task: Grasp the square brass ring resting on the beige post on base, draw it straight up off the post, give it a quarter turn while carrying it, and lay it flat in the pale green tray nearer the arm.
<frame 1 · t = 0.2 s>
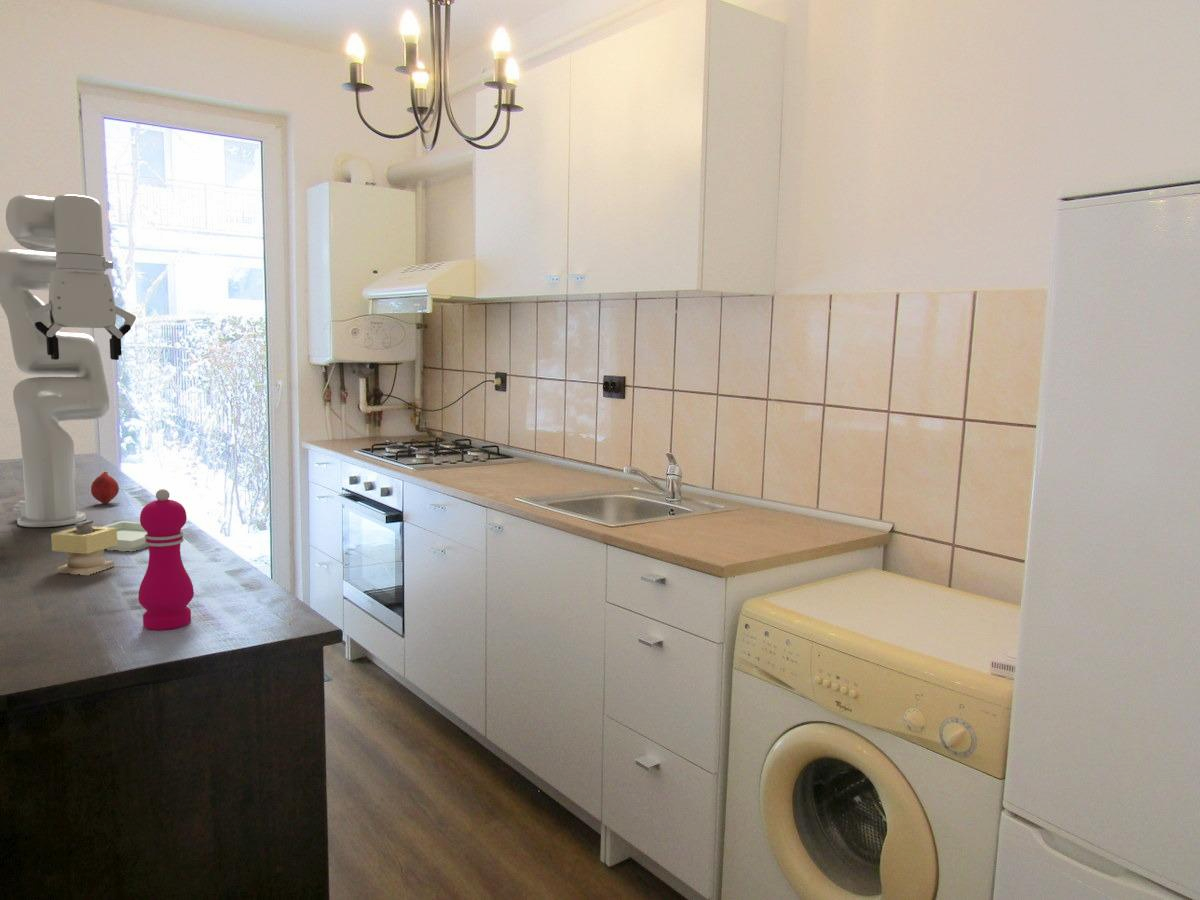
hand: (85, 359, 156), 37 cm above the countertop, tool pointing down, fingers open, 9 cm apart
ring: (85, 547, 149), point 4 cm above the countertop, touching beige post on base
onion: (105, 504, 204), on the countertop
tray: (127, 541, 170), on the countertop
beige post on base: (86, 569, 149), on the countertop
pepper mill: (167, 624, 123), on the countertop
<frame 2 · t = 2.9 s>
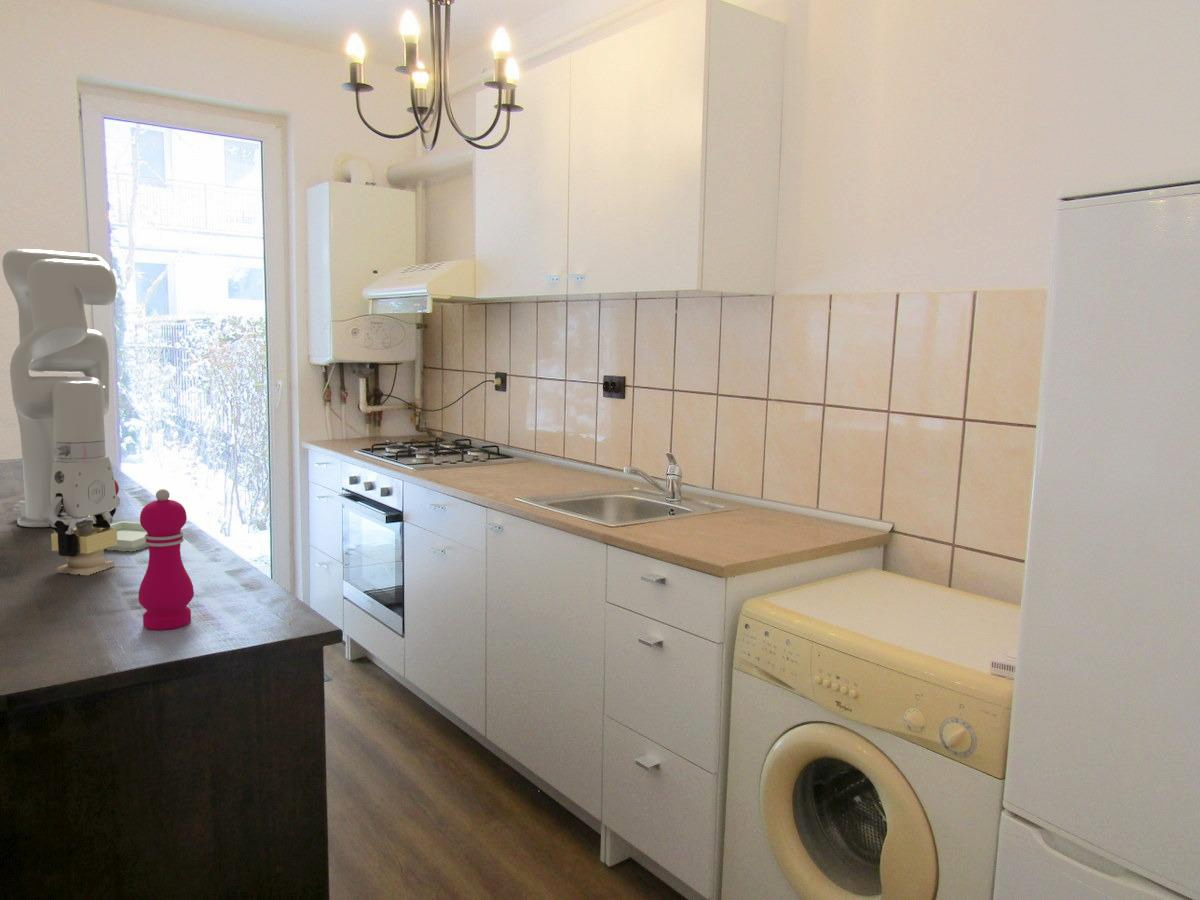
hand: (85, 549, 149), 4 cm above the countertop, tool pointing down, fingers closed on ring, 7 cm apart
ring: (85, 547, 149), point 4 cm above the countertop, touching gripper, beige post on base
everything else where it was.
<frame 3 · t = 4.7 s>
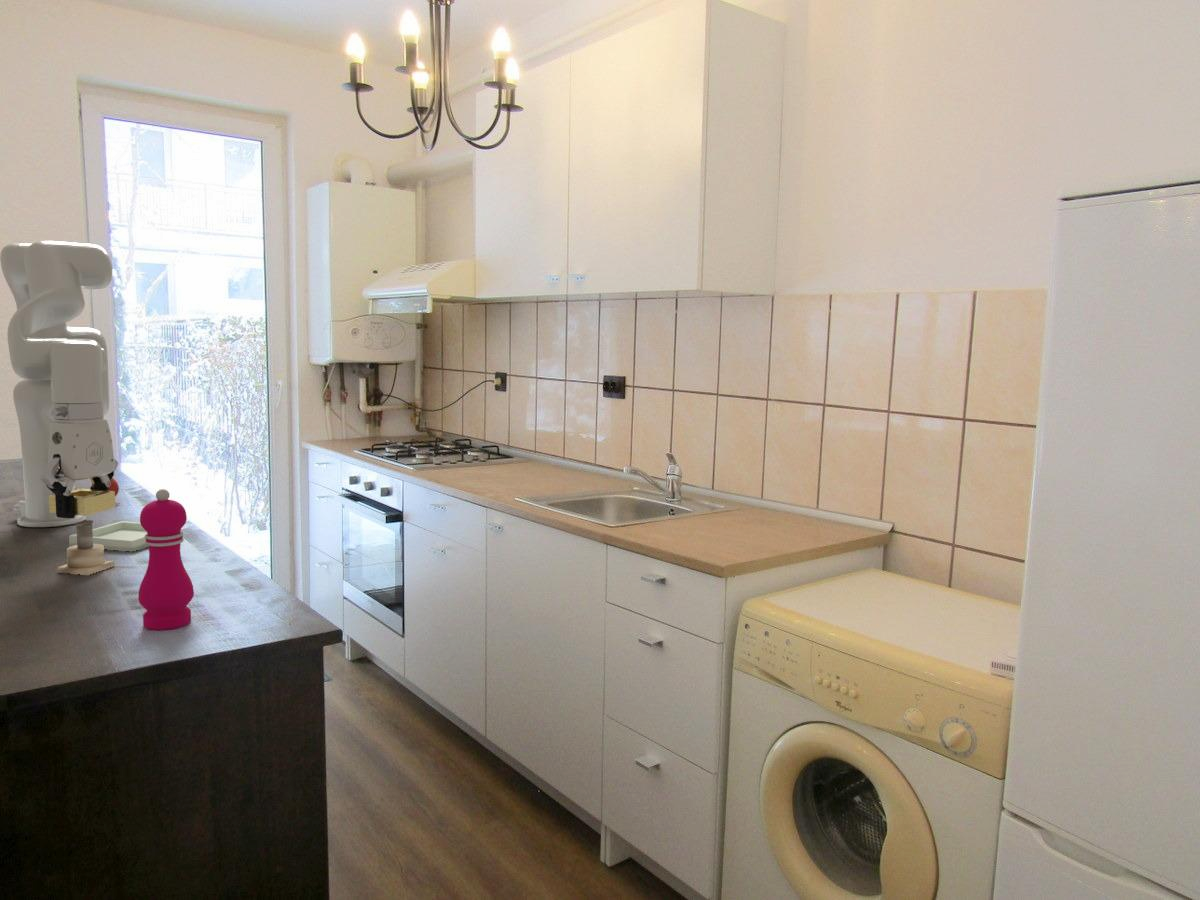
hand: (83, 512, 148), 10 cm above the countertop, tool pointing down, fingers closed on ring, 7 cm apart
ring: (83, 510, 148), point 11 cm above the countertop, touching gripper
everything else where it was.
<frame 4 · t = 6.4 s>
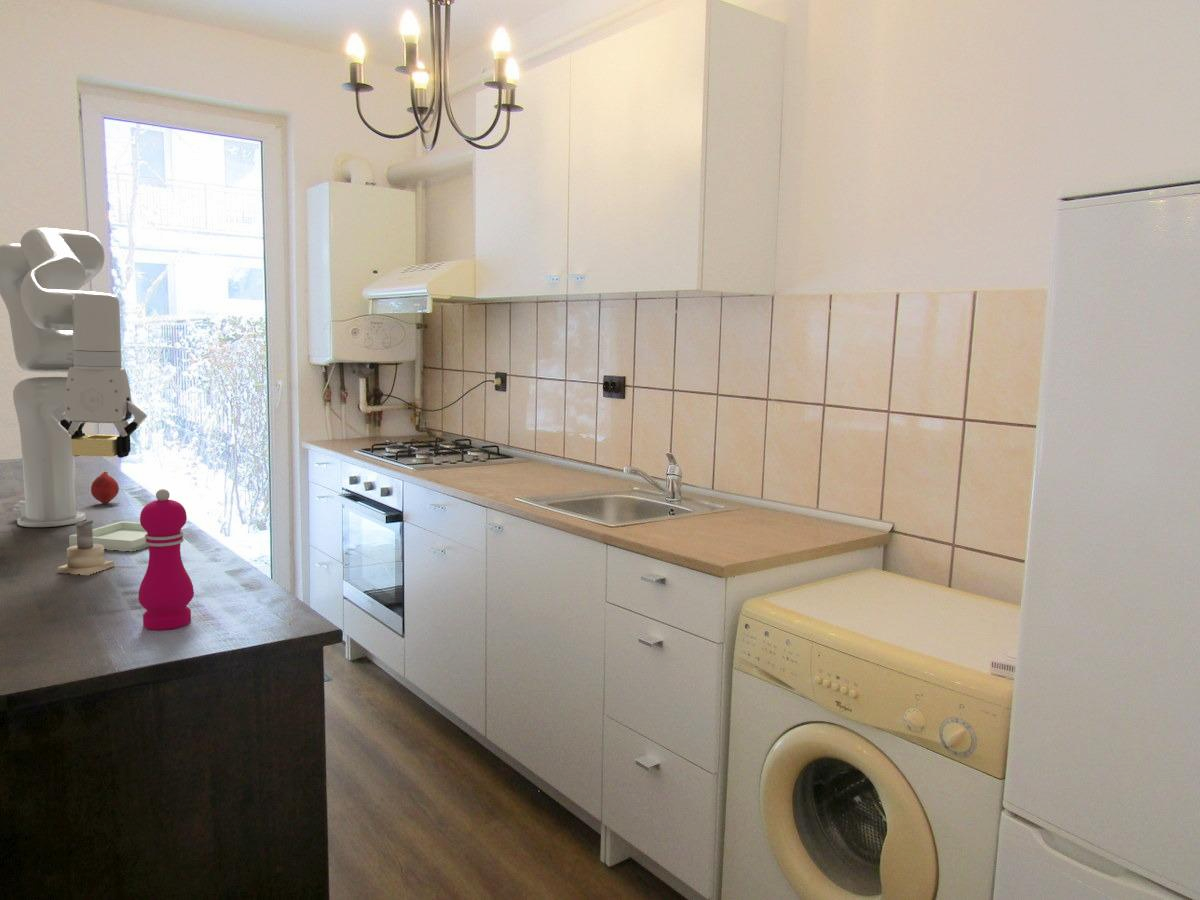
hand: (101, 455, 157), 19 cm above the countertop, tool pointing down, fingers closed on ring, 7 cm apart
ring: (101, 453, 157), point 19 cm above the countertop, touching gripper
everything else where it was.
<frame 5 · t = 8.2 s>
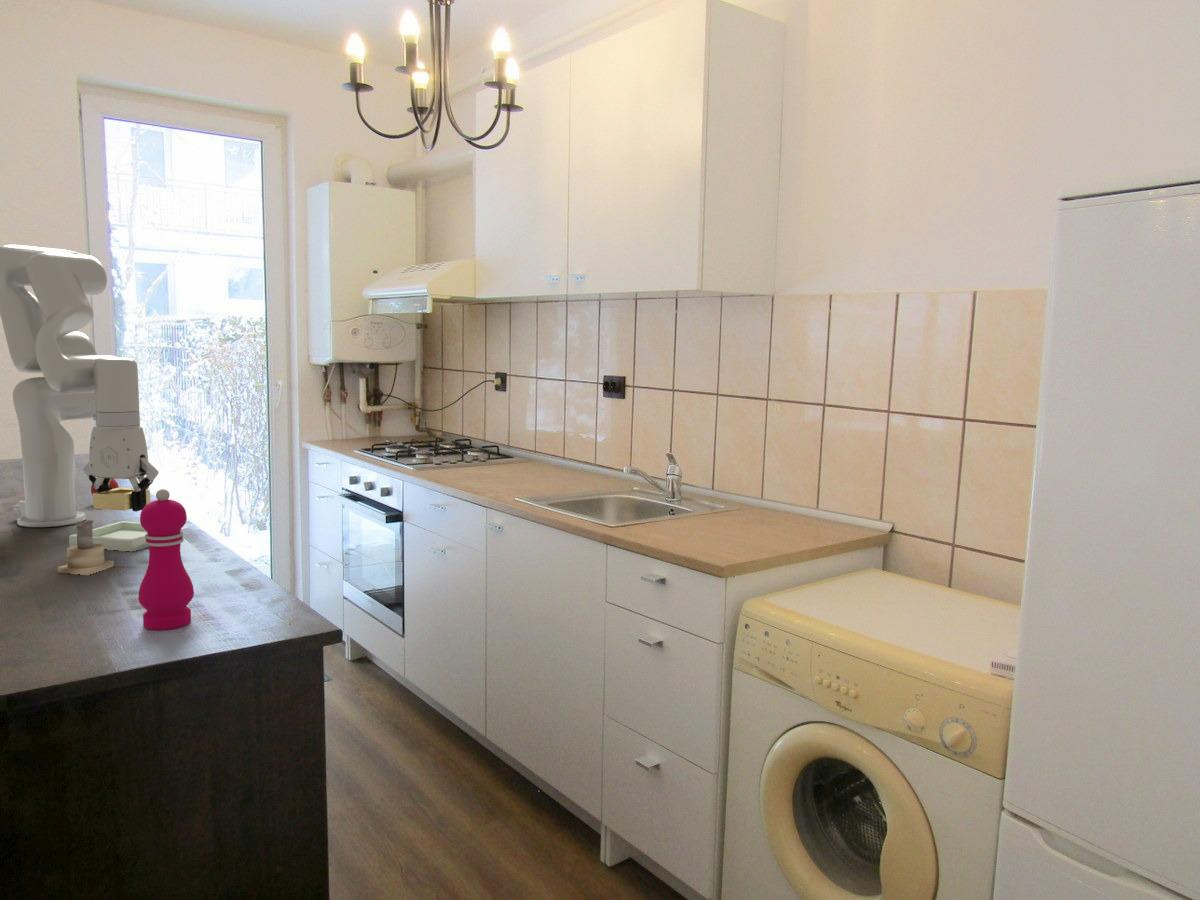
hand: (122, 508, 168), 7 cm above the countertop, tool pointing down, fingers closed on ring, 7 cm apart
ring: (122, 506, 168), point 7 cm above the countertop, touching gripper
everything else where it was.
when the fingers open (2 cm above the countertop, at t = 9.6 s): ring drops 2 cm, resting on tray.
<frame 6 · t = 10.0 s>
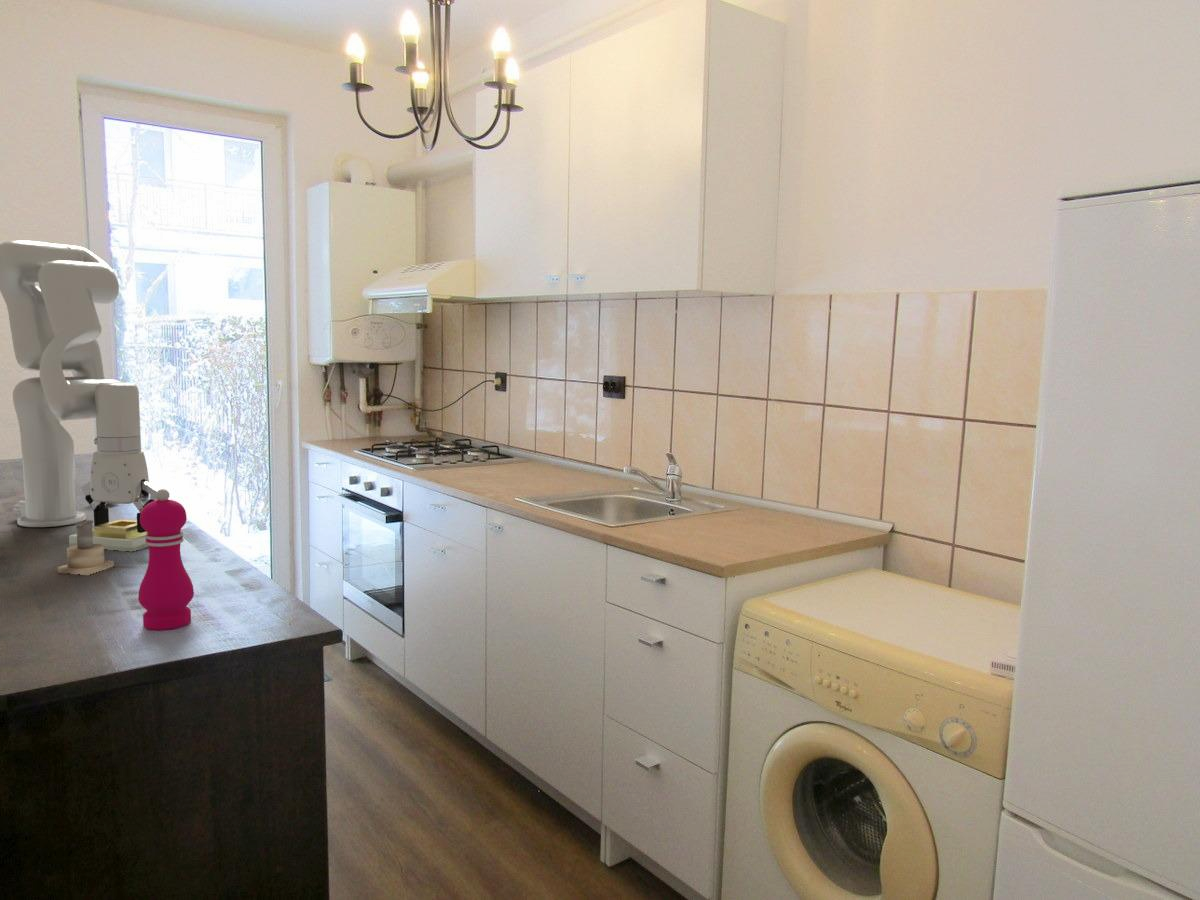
hand: (123, 529, 168), 3 cm above the countertop, tool pointing down, fingers open, 9 cm apart
ring: (123, 538, 169), point 1 cm above the countertop, touching tray
everything else where it was.
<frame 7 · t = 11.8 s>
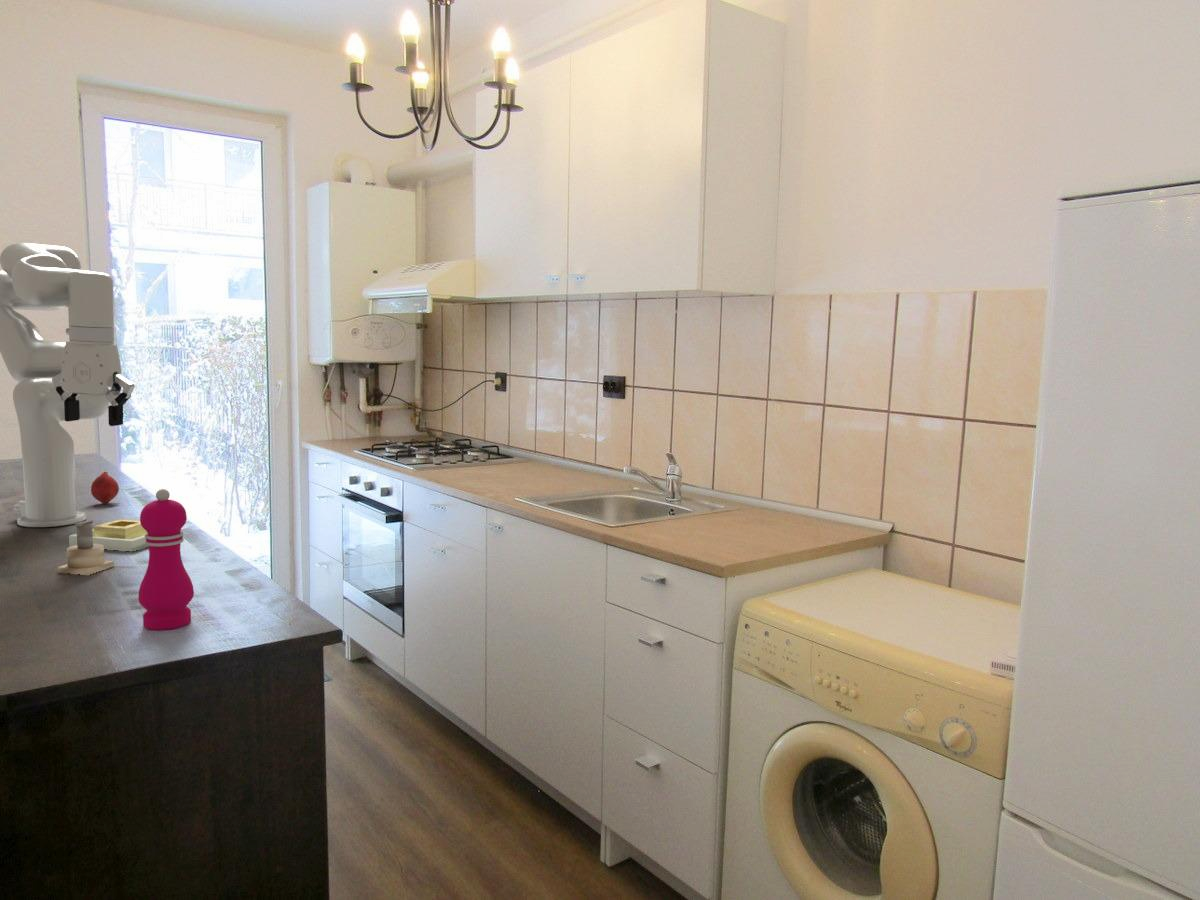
hand: (94, 422, 166), 24 cm above the countertop, tool pointing down, fingers open, 9 cm apart
nothing on the countertop moved.
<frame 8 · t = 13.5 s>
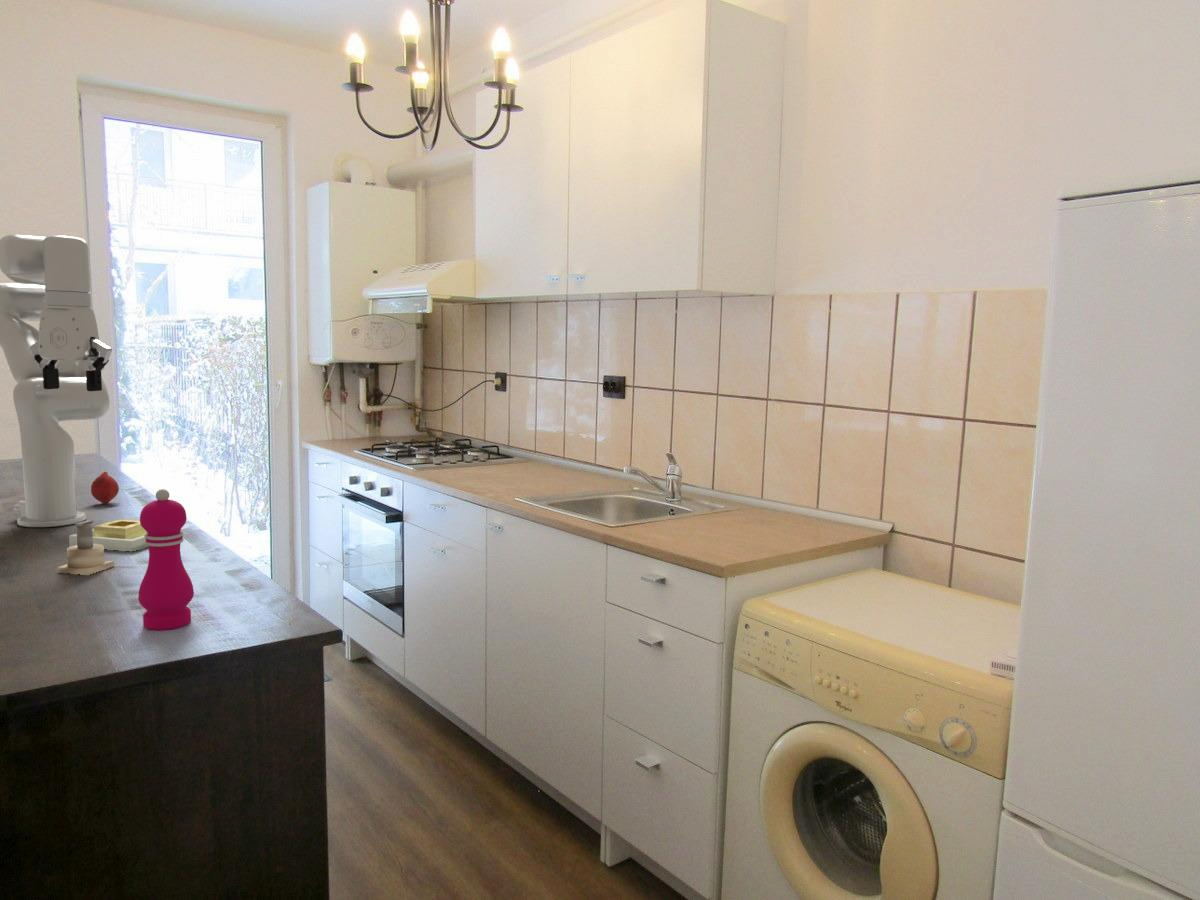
hand: (72, 389, 165), 30 cm above the countertop, tool pointing down, fingers open, 9 cm apart
nothing on the countertop moved.
at the end: ring inside the target area on the tray (0.8 cm from its centre), point 0.8 cm above the tray's base; ring tilted 0°; the gripper is holding nothing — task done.
